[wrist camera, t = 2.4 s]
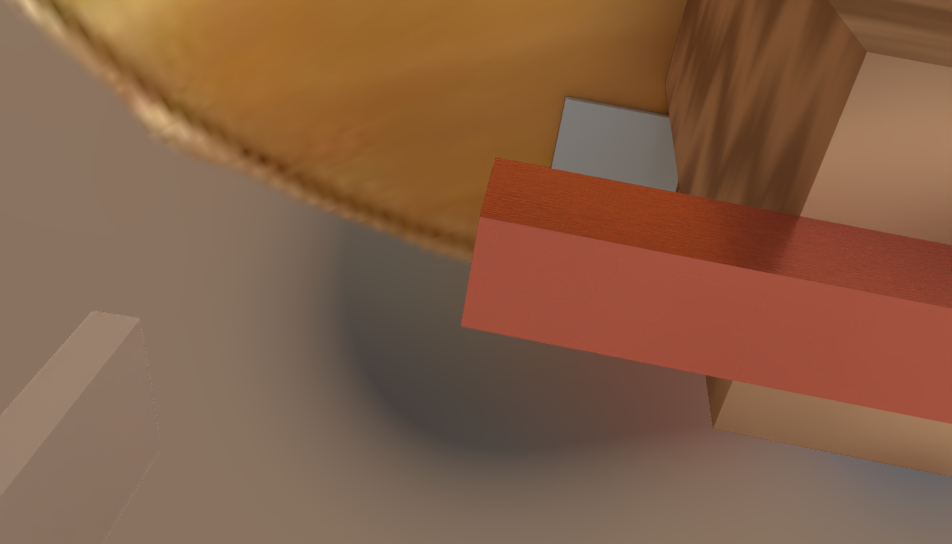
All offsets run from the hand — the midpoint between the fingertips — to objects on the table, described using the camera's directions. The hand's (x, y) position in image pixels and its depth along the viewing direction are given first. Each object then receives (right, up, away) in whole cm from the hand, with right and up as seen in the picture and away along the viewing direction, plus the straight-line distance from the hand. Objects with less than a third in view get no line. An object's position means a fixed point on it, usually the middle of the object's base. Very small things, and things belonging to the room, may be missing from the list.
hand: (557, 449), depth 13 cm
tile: (+8, +10, +42) cm, 44 cm away
